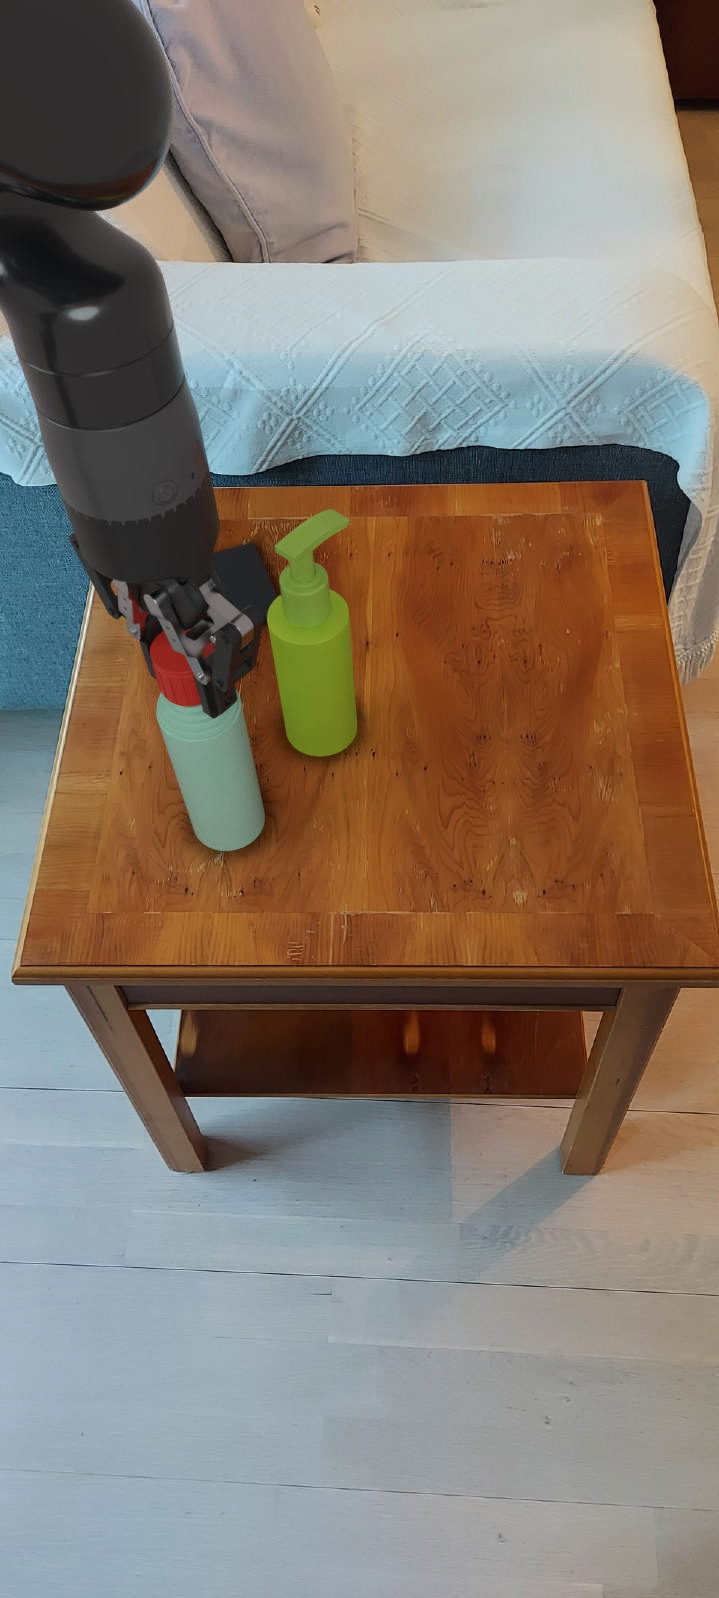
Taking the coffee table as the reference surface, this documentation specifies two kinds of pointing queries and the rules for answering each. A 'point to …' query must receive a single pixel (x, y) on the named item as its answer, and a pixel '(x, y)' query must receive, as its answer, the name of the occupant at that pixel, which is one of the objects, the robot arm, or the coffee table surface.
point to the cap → (175, 672)
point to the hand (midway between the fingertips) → (193, 688)
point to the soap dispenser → (313, 644)
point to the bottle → (214, 772)
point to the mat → (244, 578)
